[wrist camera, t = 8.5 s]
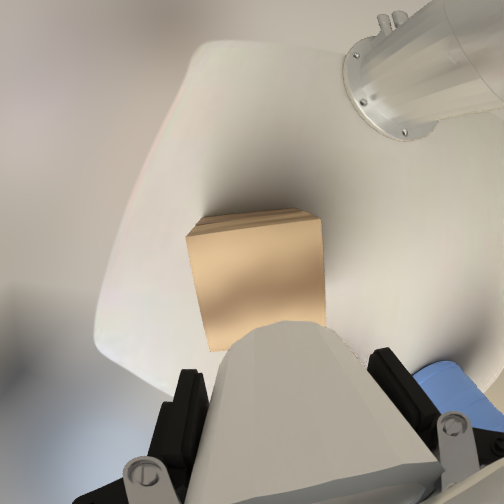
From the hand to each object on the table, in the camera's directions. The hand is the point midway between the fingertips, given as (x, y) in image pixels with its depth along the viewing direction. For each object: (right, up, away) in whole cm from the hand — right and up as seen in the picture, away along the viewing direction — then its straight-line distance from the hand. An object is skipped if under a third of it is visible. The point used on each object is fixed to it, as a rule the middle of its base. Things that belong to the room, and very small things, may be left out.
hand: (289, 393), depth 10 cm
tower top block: (-1, +4, +14) cm, 15 cm away
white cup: (0, 0, +1) cm, 1 cm away
